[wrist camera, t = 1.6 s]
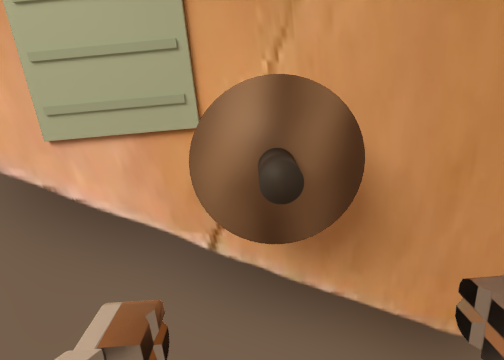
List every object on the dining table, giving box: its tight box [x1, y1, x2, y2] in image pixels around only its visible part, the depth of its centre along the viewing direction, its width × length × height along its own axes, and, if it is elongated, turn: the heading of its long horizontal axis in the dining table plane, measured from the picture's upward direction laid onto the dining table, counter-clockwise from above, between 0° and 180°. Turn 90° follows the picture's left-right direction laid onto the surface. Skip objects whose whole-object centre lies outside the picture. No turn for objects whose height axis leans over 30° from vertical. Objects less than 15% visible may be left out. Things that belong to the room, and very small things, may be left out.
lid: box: [189, 74, 365, 244], centre depth 22 cm, size 13×13×5 cm
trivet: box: [3, 0, 199, 141], centre depth 30 cm, size 16×16×1 cm
